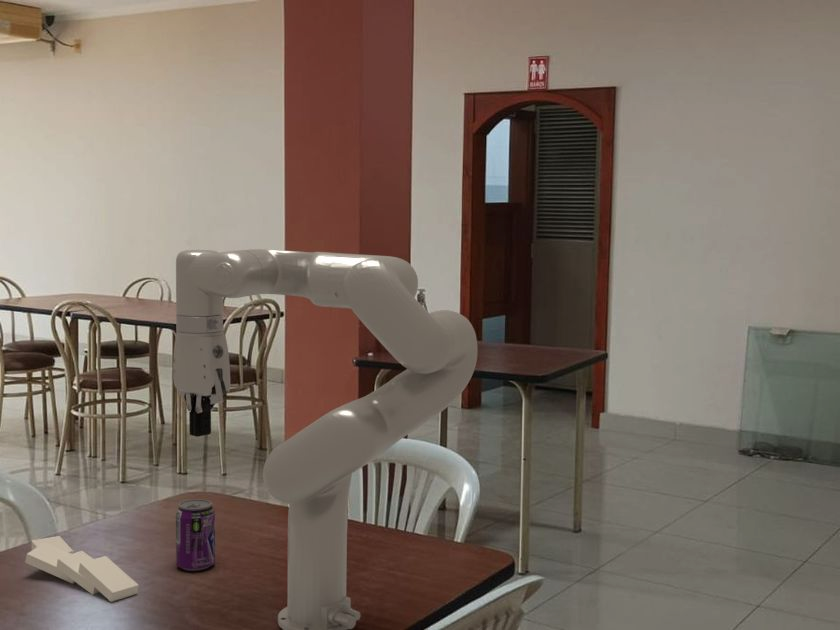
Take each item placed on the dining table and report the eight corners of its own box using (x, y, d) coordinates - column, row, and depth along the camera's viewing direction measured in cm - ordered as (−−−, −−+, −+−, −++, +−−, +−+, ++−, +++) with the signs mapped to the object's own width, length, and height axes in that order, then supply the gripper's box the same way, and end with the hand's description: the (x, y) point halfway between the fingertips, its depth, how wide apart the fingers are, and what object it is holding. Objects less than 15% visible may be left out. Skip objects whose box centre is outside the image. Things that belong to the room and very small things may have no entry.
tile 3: (91, 562, 186) (44, 542, 188) (74, 575, 181) (26, 553, 183) (89, 571, 186) (43, 550, 188) (72, 583, 181) (25, 562, 183)
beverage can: (205, 574, 187) (205, 510, 186) (169, 571, 188) (169, 507, 187) (221, 561, 194) (220, 499, 193) (186, 558, 195) (185, 497, 194)
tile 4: (73, 551, 190) (59, 535, 198) (44, 556, 187) (31, 540, 195) (73, 560, 190) (59, 544, 198) (44, 565, 187) (31, 549, 196)
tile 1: (138, 584, 177) (105, 555, 182) (112, 592, 173) (80, 562, 178) (136, 593, 177) (103, 564, 183) (110, 601, 173) (78, 571, 179)
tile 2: (118, 576, 181) (81, 550, 185) (94, 585, 176) (57, 558, 181) (116, 585, 181) (80, 559, 186) (92, 594, 177) (56, 567, 182)
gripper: (246, 327, 167) (246, 438, 169) (191, 319, 176) (191, 424, 178) (209, 331, 161) (209, 446, 163) (153, 322, 171) (154, 431, 173)
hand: (200, 434), depth 171 cm, fingers closed
